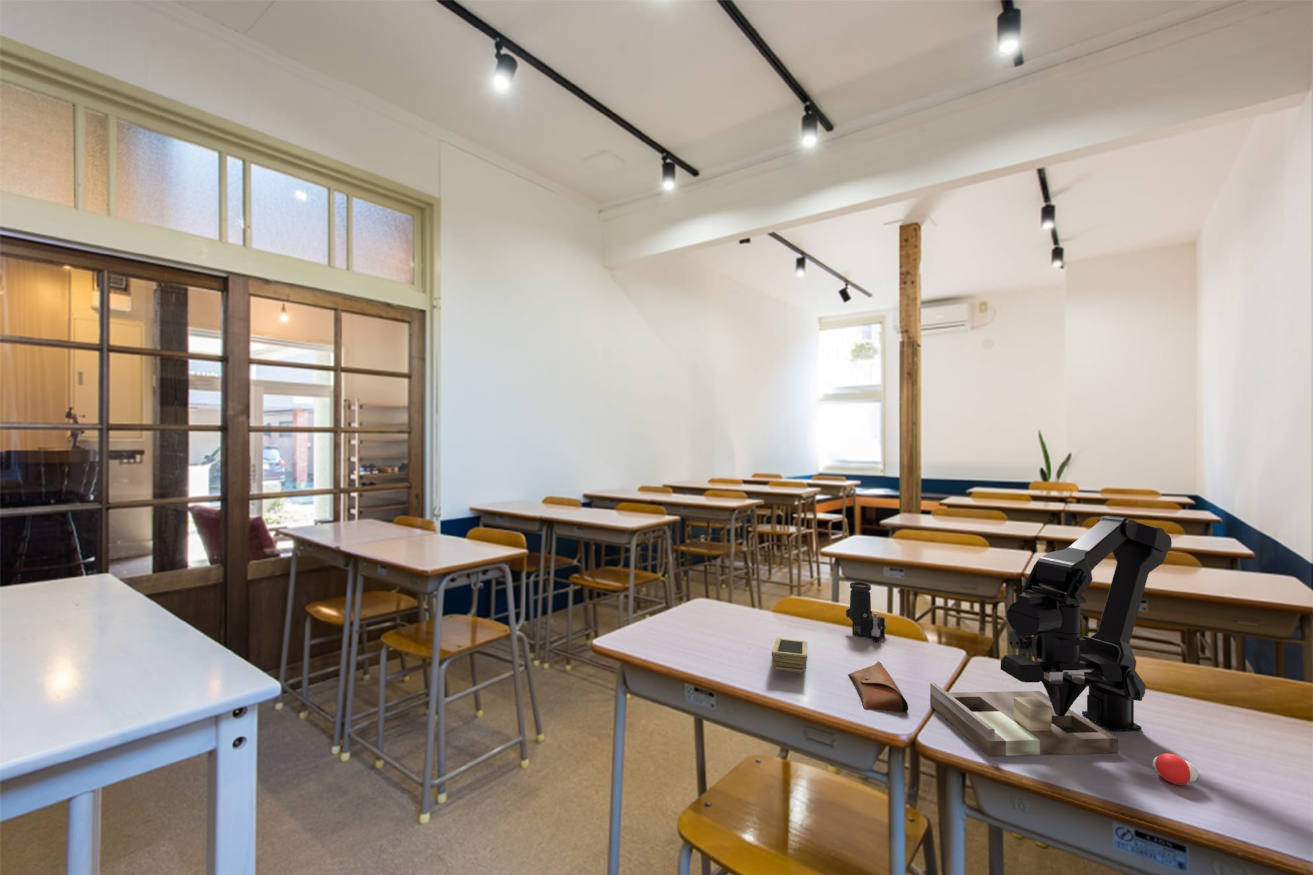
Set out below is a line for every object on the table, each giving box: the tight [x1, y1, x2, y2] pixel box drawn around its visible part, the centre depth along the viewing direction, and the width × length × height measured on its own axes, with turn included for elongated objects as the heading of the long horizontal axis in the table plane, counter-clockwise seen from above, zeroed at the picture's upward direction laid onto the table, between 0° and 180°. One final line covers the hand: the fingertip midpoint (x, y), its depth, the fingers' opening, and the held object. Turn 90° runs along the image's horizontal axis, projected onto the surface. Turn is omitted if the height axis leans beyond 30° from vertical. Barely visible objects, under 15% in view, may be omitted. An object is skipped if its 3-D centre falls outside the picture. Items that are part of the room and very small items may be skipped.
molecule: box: [1152, 753, 1199, 786], centre depth 87 cm, size 5×5×4 cm
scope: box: [845, 581, 887, 643], centre depth 152 cm, size 8×14×10 cm
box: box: [771, 637, 808, 674], centre depth 132 cm, size 8×22×5 cm, turn 166°
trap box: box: [929, 682, 1119, 757], centre depth 103 cm, size 23×18×4 cm
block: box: [1014, 697, 1052, 731], centre depth 99 cm, size 4×4×4 cm
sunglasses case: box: [847, 661, 909, 714], centre depth 117 cm, size 18×7×7 cm
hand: (1059, 715), depth 99 cm, fingers closed
